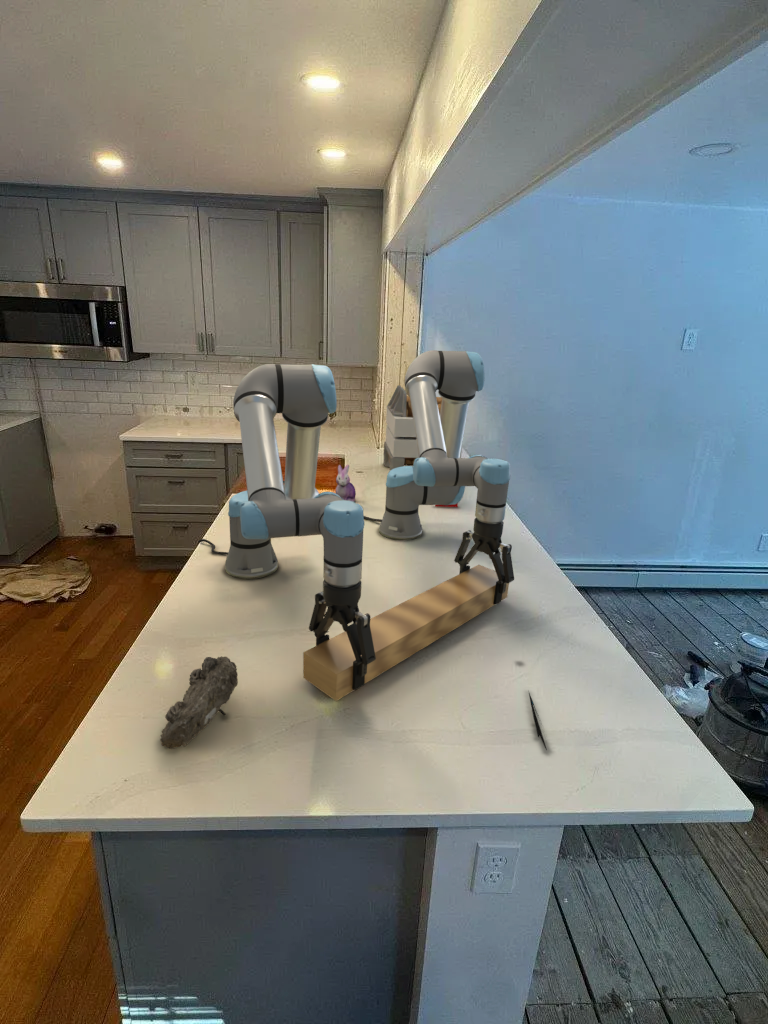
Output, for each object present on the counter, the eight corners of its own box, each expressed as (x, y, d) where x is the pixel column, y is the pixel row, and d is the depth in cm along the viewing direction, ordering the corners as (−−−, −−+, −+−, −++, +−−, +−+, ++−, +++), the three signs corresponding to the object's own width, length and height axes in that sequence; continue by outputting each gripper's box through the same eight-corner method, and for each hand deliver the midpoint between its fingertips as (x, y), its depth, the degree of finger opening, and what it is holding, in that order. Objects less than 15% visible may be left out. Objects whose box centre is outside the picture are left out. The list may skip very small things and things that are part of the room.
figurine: (339, 506, 224) (340, 469, 219) (329, 498, 233) (330, 463, 228) (361, 503, 228) (362, 467, 223) (350, 496, 237) (351, 461, 232)
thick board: (476, 584, 161) (478, 564, 159) (507, 597, 155) (510, 576, 153) (303, 677, 118) (303, 652, 116) (336, 701, 112) (336, 674, 109)
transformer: (382, 463, 289) (386, 382, 275) (445, 464, 293) (451, 384, 279) (390, 482, 257) (394, 392, 243) (460, 483, 261) (468, 394, 247)
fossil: (187, 658, 118) (238, 626, 113) (219, 688, 121) (270, 658, 116) (136, 742, 99) (195, 708, 94) (175, 775, 101) (234, 744, 96)
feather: (520, 667, 129) (525, 661, 129) (546, 754, 103) (553, 747, 102) (514, 663, 129) (519, 657, 129) (538, 750, 103) (545, 742, 102)
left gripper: (290, 566, 115) (292, 658, 123) (370, 607, 101) (365, 709, 109) (319, 555, 121) (318, 645, 128) (398, 594, 106) (392, 692, 114)
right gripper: (445, 510, 151) (438, 584, 159) (520, 535, 137) (509, 616, 144) (462, 504, 156) (454, 576, 164) (535, 528, 142) (524, 606, 149)
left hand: (340, 674), depth 119 cm, fingers closed on thick board, 10 cm apart
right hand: (480, 595), depth 154 cm, fingers closed on thick board, 10 cm apart
